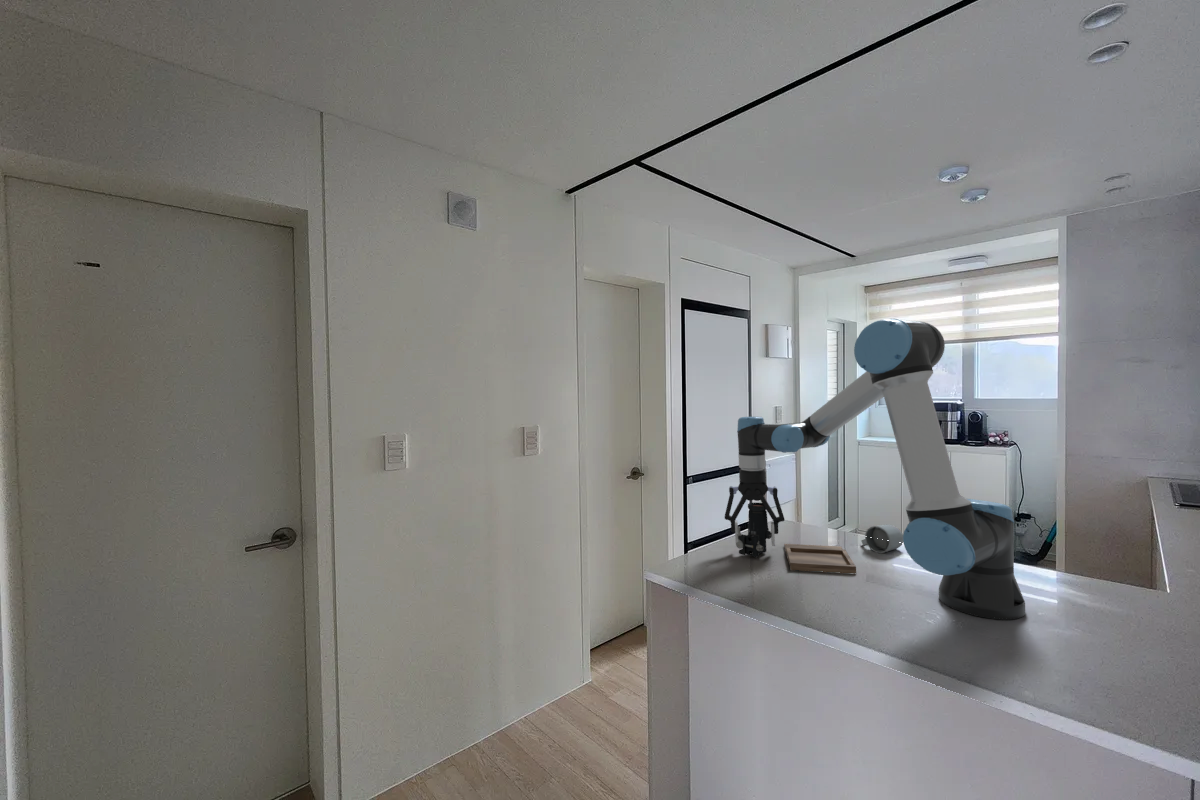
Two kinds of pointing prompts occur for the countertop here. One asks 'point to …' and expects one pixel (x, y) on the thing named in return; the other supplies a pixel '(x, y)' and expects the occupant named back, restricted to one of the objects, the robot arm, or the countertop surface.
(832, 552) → the wooden tray
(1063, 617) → the countertop surface
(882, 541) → the ceramic mug
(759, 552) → the scope
